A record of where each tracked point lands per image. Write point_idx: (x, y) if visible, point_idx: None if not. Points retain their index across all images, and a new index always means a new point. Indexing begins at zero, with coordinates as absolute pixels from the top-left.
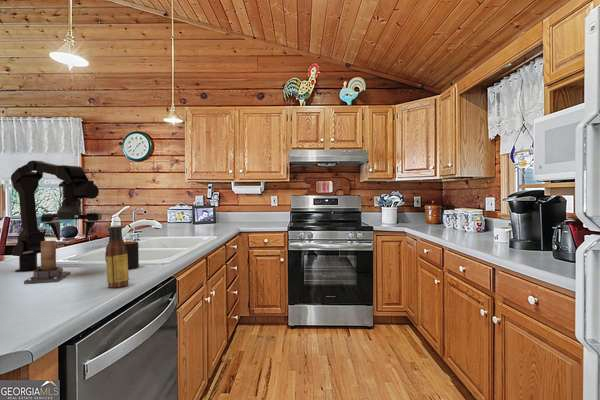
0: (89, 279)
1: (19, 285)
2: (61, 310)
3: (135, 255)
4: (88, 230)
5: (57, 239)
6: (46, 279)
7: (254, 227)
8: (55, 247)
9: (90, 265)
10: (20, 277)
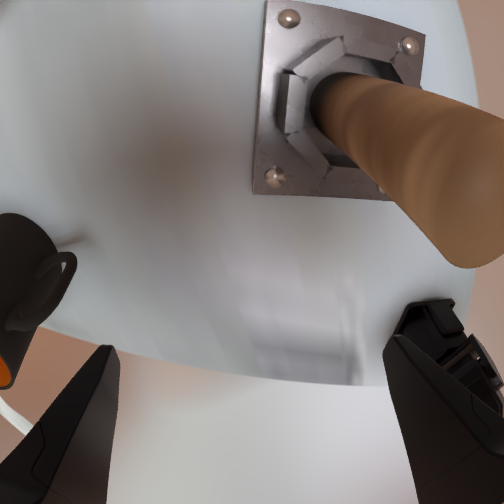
0: (102, 18)
1: (427, 21)
2: None
3: None
4: (38, 427)
5: (407, 339)
6: (332, 14)
7: None
8: (396, 156)
9: (212, 348)
10: None
